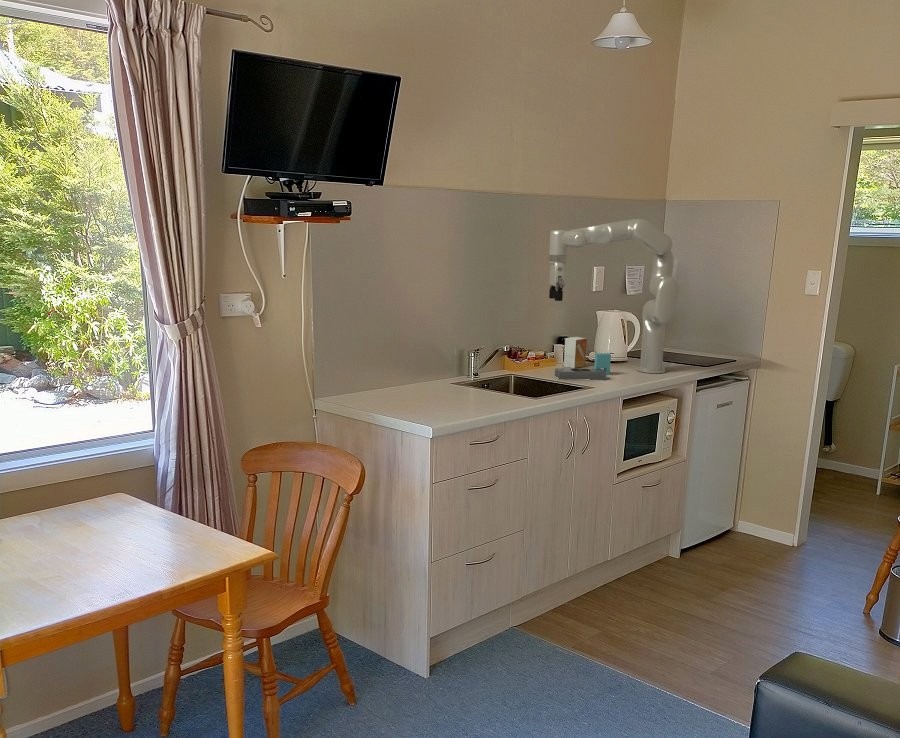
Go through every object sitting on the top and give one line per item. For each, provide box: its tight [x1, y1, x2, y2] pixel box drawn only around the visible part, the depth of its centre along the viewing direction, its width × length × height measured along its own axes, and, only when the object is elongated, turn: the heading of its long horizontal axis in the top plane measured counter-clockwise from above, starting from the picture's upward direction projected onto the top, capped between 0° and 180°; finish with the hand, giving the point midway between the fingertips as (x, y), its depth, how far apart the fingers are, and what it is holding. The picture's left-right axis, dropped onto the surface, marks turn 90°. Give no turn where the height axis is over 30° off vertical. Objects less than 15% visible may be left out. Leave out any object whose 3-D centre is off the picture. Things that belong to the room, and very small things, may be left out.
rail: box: [554, 367, 607, 381], centre depth 336 cm, size 20×7×4 cm, turn 97°
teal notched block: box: [593, 352, 612, 376], centre depth 346 cm, size 6×3×9 cm, turn 97°
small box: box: [563, 336, 588, 369], centre depth 362 cm, size 8×6×13 cm
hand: (555, 299), depth 346 cm, fingers open, 9 cm apart
